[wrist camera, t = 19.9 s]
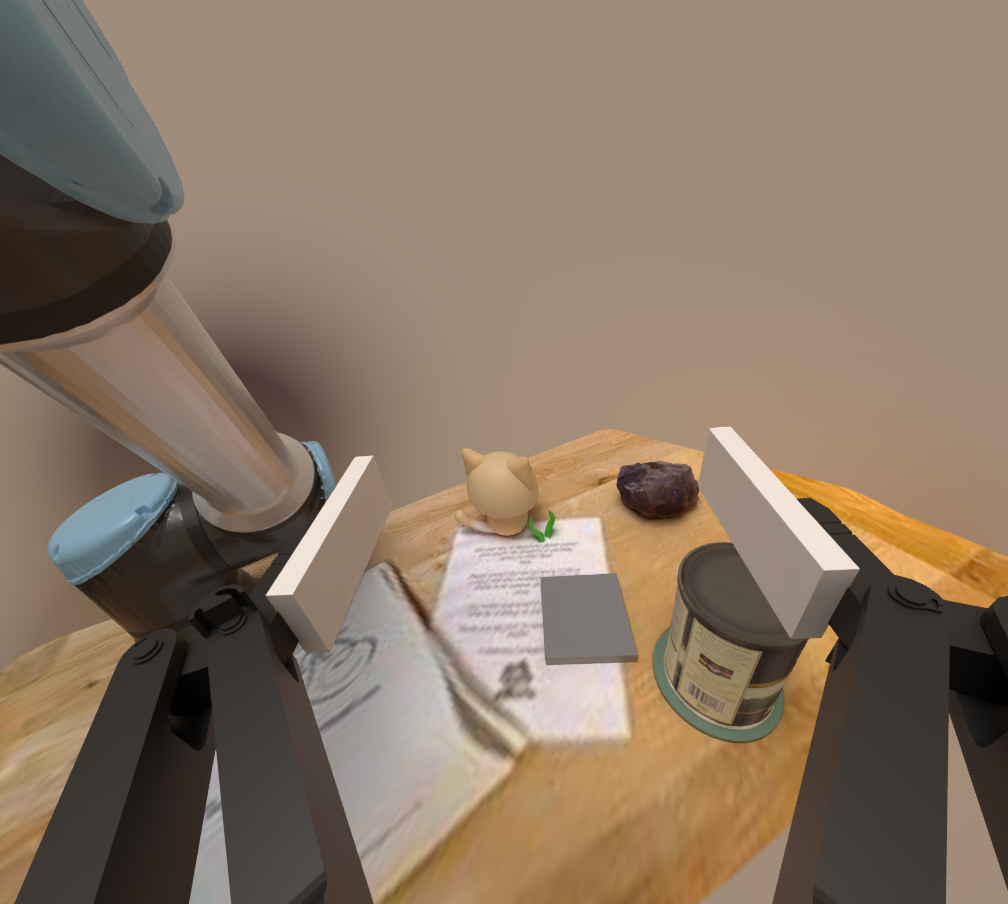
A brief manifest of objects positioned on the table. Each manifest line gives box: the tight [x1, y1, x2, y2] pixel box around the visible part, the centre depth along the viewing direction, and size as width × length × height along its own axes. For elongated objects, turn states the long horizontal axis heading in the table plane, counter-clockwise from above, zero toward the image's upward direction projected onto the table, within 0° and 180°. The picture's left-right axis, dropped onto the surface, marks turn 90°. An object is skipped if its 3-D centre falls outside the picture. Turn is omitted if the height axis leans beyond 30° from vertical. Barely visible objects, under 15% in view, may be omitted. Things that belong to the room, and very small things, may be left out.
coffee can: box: [664, 542, 809, 730], centre depth 36 cm, size 10×10×14 cm
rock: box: [616, 461, 699, 519], centre depth 60 cm, size 12×9×10 cm
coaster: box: [653, 627, 784, 743], centre depth 41 cm, size 12×12×1 cm
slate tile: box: [541, 573, 638, 665], centre depth 48 cm, size 2×10×11 cm
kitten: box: [454, 448, 555, 542], centre depth 59 cm, size 15×10×15 cm, turn 67°
